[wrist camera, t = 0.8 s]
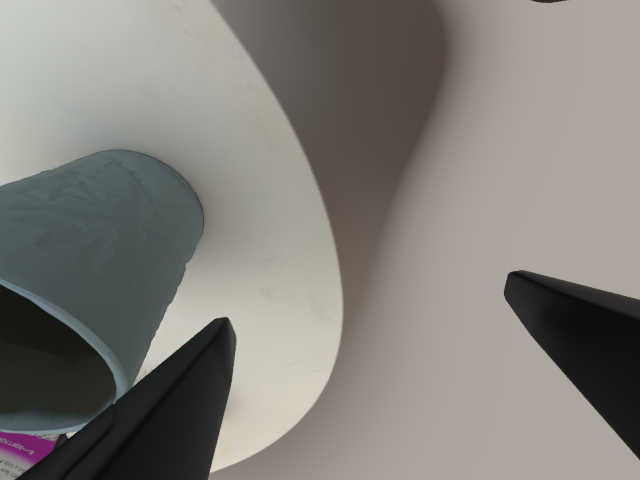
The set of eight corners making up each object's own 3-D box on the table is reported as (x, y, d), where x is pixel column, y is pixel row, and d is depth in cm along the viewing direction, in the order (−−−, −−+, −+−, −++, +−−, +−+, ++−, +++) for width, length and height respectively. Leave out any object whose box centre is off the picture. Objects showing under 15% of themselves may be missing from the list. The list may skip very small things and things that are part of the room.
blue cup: (185, 284, 24) (98, 453, 14) (44, 229, 21) (-195, 398, 11) (236, 185, 20) (159, 334, 10) (65, 96, 16) (-315, 180, 6)
